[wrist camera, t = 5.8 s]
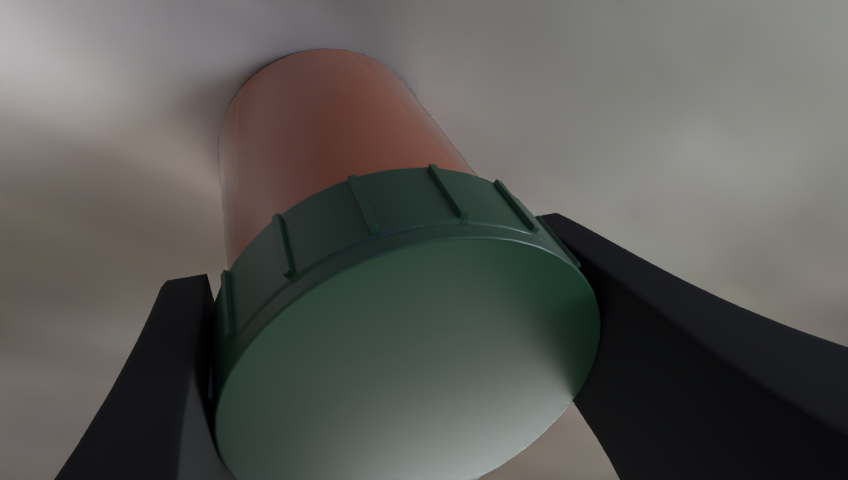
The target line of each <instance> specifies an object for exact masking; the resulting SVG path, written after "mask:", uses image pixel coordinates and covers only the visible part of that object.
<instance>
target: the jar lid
mask: <svg viewBox="0 0 848 480" xmlns="http://www.w3.org/2000/svg"><path fill="white" fill-rule="evenodd" d="M347 178H348V179H347V180H345V181H343V182H340V183H337V184H335V185H333V186H330V187H328V188H326V189H324V190H321V191H319V192H317V193H315V194H313V195H311V196H309V197H308V198H306V199H304V200H302V201H301V202H299V203H297V204H296V205H294V206H292V207H291V208H289V209H288V210H286V211H285V212H283V213H281V214H280V215H279V214H278V213H276V214H275V215H273V216H272V222H271V223H269V224H268V225H267V226H266V227H265V228H264V229H263V230H262V231H261V232H260V233H259V234H258V235H257V236H256V237H255V238H254V239H253V240H252V241H251V242H250V243H249V244H248V245H247V247H246V248H245V249H244V250H243V252H242V253H241V254H240V256H239V257H238V258H237V259H236V261H235V262H234V263H233V265H232V267H231V268H230V269H229V271H226V270H223V272H222V274H221V287H220V290H219V293H218V295H217V298H216V300H215V303H214V308H213V313H212V318H211V351H212V357H211V367H210V378H209V388H208V400H209V402H213V425H214V435H215V440H216V445H217V450H218V452H219V454H220V456H221V458H222V460H223V462H224V465H225V466H226V467H227V469H228V470H229V471H230V473H231V474H232V475H233V477H234V478H235V479H236V480H475V479H478V478H480V477H481V476H483V475H485V474H487V473H488V472H490V471H492V470H494V469H495V468H497V467H499V466H500V465H502V464H503V463H505V462H506V461H508V460H509V459H511V458H512V457H514V456H515V455H517V454H518V453H519V452H521V451H522V450H523V449H525V448H526V447H527V446H529V445H530V444H531V443H532V442H533V441H535V440H536V439H537V438H538V437H539V436H540V435H541V434H543V433H544V432H545V431H546V430H547V429H548V428H549V427H550V426H551V425H552V424H553V423H554V422H555V421H556V420H557V419H558V418H559V417H560V415H561V414H562V413H563V412H564V411H565V409H566V408H567V407H568V406H569V405H570V403H571V402H572V401H573V399H574V398H575V396H576V395H577V393H578V392H579V390H580V389H581V387H582V386H583V384H584V382H585V380H586V378H587V376H588V374H589V372H590V370H591V368H592V365H593V362H594V360H595V357H596V354H597V350H598V345H599V341H600V329H601V320H600V313H599V306H598V303H597V300H596V297H595V294H594V291H593V289H592V288H591V286H590V285H589V283H588V281H587V280H586V278H585V276H584V275H583V274H582V273H581V272H580V271H579V269H578V268H579V267H581V265H580V263H579V262H578V260H577V259H576V258H575V257H574V256H573V255H572V253H571V252H570V251H569V250H568V249H567V247H566V246H565V245H564V244H563V243H562V242H561V240H560V239H559V238H558V237H557V236H556V235H555V233H554V232H553V231H552V230H551V229H550V228H549V226H548V225H547V224H546V223H545V222H544V221H543V219H542V218H541V217H540V216H539V215H538V216H537V217H536V218H535V217H534V216H533V215H532V213H531V212H530V211H529V210H528V209H527V208H526V207H525V206H524V205H523V204H522V203H521V202H520V200H519V199H517V198H516V197H514V196H513V195H512V194H511V193H510V192H509V190H508V189H507V188H506V187H505V186H504V184H503V183H502V182H501V181H499V180H496V181H495V182H494V183H492V182H490V181H488V180H486V179H483V178H480V177H477V176H474V175H471V174H468V173H464V172H459V171H453V170H447V169H442V168H438V167H437V165H436V164H429V166H428V167H422V168H421V167H414V168H401V169H390V170H385V171H380V172H375V173H370V174H365V175H361V176H357V177H356V176H355V174H353V175H350V176H348V177H347Z"/></svg>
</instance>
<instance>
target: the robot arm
mask: <svg viewBox="0 0 848 480" xmlns="http://www.w3.org/2000/svg"><path fill="white" fill-rule="evenodd" d="M536 217H537V216H536ZM536 217H535V218H536ZM540 217H541V218H542V219H543V221H544V222H545V223H546V224H547V225H548V226H549V228H550V229H551V230H552V231H553V232H554V233H555V235H556V236H557V237H558V238H559V239H560V240H561V242H562V243H563V244H564V245H565V246H566V247H567V249H568V250H569V251H570V252H571V253H572V255H573V256H574V257H575V258H576V259H577V260H578V262H579V263H580V265H581V267H579V268H578V269H579V271H580V272H581V273H582V274H583V275H584V276H585V278H586V280H587V281H588V283H589V285H590V286H591V288H592V289H593V291H594V294H595V297H596V300H597V303H598V306H599V313H600V320H601V329H600V341H599V345H598V350H597V354H596V357H595V360H594V362H593V365H592V368H591V370H590V372H589V374H588V376H587V378H586V380H585V382H584V384H583V386H582V387H581V389H580V390H579V392H578V393H577V395H576V396H575V398H574V399H573V402H574V404H575V405H576V407H577V408H578V410H579V411H580V413H581V414H582V416H583V417H584V419H585V420H586V422H587V424H588V425H589V427H590V428H591V430H592V431H593V433H594V434H595V436H596V437H597V439H598V441H599V442H600V444H601V446H602V447H603V449H604V451H605V452H606V454H607V456H608V458H609V459H610V461H611V463H612V465H613V467H614V469H615V471H616V473H617V475H618V477H619V479H620V480H848V347H845V346H842V345H839V344H836V343H834V342H831V341H828V340H825V339H822V338H819V337H816V336H813V335H810V334H807V333H805V332H802V331H799V330H796V329H794V328H791V327H788V326H786V325H783V324H781V323H778V322H776V321H773V320H771V319H769V318H766V317H764V316H761V315H759V314H756V313H754V312H751V311H749V310H746V309H744V308H742V307H739V306H737V305H735V304H733V303H730V302H728V301H726V300H724V299H721V298H719V297H717V296H715V295H713V294H711V293H709V292H707V291H705V290H703V289H701V288H698V287H696V286H694V285H692V284H690V283H688V282H686V281H684V280H682V279H680V278H678V277H676V276H674V275H672V274H670V273H668V272H666V271H664V270H663V269H661V268H659V267H657V266H655V265H653V264H651V263H649V262H648V261H646V260H644V259H642V258H640V257H638V256H636V255H635V254H633V253H631V252H629V251H627V250H626V249H624V248H622V247H620V246H618V245H616V244H615V243H613V242H611V241H609V240H607V239H606V238H604V237H602V236H600V235H598V234H597V233H595V232H593V231H591V230H589V229H587V228H586V227H584V226H582V225H580V224H578V223H576V222H574V221H572V220H570V219H568V218H566V217H564V216H562V215H560V214H558V213H553V214H547V215H542V216H540ZM213 308H214V299H213V295H212V291H211V288H210V284H209V280H208V277H207V274H203V275H197V276H191V277H185V278H180V279H174V280H168V281H166V282H165V283H164V285H163V286H162V287H161V289H160V291H159V294H158V296H157V299H156V301H155V303H154V306H153V308H152V310H151V313H150V315H149V317H148V319H147V321H146V323H145V326H144V328H143V330H142V332H141V334H140V336H139V338H138V340H137V342H136V344H135V346H134V348H133V350H132V352H131V354H130V355H129V357H128V359H127V361H126V363H125V365H124V367H123V369H122V370H121V372H120V374H119V376H118V378H117V380H116V382H115V383H114V385H113V387H112V389H111V391H110V392H109V394H108V396H107V398H106V399H105V401H104V403H103V404H102V406H101V407H100V409H99V411H98V412H97V414H96V416H95V417H94V419H93V420H92V422H91V424H90V425H89V427H88V429H87V430H86V432H85V434H84V435H83V437H82V438H81V440H80V442H79V443H78V445H77V446H76V448H75V450H74V451H73V453H72V454H71V456H70V457H69V459H68V460H67V462H66V463H65V465H64V466H63V468H62V469H61V470H60V472H59V473H58V475H57V476H56V478H55V479H54V480H235V478H234V477H233V475H232V474H231V473H230V471H229V470H228V469H227V467H226V466H225V465H224V462H223V460H222V458H221V456H220V454H219V452H218V450H217V445H216V440H215V435H214V425H213V402H209V400H208V388H209V378H210V367H211V357H212V351H211V318H212V313H213Z"/></svg>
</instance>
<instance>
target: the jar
mask: <svg viewBox="0 0 848 480" xmlns="http://www.w3.org/2000/svg"><path fill="white" fill-rule="evenodd" d="M218 155H219V168H220V181H221V195H222V208H223V221H224V234H225V247H226V260H227V271H229V269H230V268H231V267H232V265H233V263H234V262H235V261H236V259H237V258H238V257H239V256H240V254H241V253H242V252H243V250H244V249H245V248H246V247H247V245H248V244H249V243H250V242H251V241H252V240H253V239H254V238H255V237H256V236H257V235H258V234H259V233H260V232H261V231H262V230H263V229H264V228H265V227H266V226H267V225H268V224H269V223H271V222H272V216H273V215H275V214H276V213H278V214H279V215H280V214H281V213H283V212H285V211H286V210H288V209H289V208H291V207H292V206H294V205H296V204H297V203H299V202H301V201H302V200H304V199H306V198H308V197H309V196H311V195H313V194H315V193H317V192H319V191H321V190H324V189H326V188H328V187H330V186H333V185H335V184H337V183H340V182H343V181H345V180H347V179H348V178H347V177H348V176H350V175H353V174H355V176H356V177H357V176H361V175H365V174H370V173H375V172H380V171H385V170H390V169H401V168H414V167H421V168H422V167H428V166H429V164H436V165H437V167H438V168H442V169H447V170H453V171H459V172H464V173H468V174H471V175H474V176H477V175H476V173H475V172H474V171H473V170H472V168H471V167H470V166H469V164H468V163H467V162H466V161H465V159H464V158H463V157H462V155H461V154H460V153H459V152H458V150H457V149H456V148H455V146H454V145H453V144H452V142H451V141H450V140H449V139H448V137H447V136H446V135H445V133H444V132H443V131H442V130H441V128H440V127H439V126H438V124H437V123H436V122H435V121H434V119H433V118H432V117H431V115H430V114H429V113H428V112H427V110H426V109H425V108H424V106H423V105H422V104H421V103H420V101H419V100H418V99H417V97H416V96H415V95H414V94H413V92H412V91H411V90H410V88H409V87H408V86H407V85H406V83H405V82H404V81H403V80H402V79H401V78H400V77H399V76H398V75H397V74H396V73H394V72H393V71H392V70H391V69H389V68H388V67H387V66H385V65H383V64H382V63H380V62H378V61H377V60H375V59H372V58H370V57H367V56H365V55H363V54H359V53H355V52H351V51H346V50H338V49H316V50H309V51H303V52H300V53H296V54H292V55H289V56H287V57H284V58H282V59H280V60H277V61H275V62H273V63H272V64H270V65H268V66H267V67H265V68H263V69H262V70H260V71H259V72H258V73H257V74H255V75H254V76H253V77H252V78H250V79H249V80H248V81H247V83H246V84H245V85H244V86H243V87H242V88H241V89H240V90H239V91H238V93H237V94H236V96H235V97H234V99H233V100H232V101H231V103H230V105H229V107H228V109H227V111H226V113H225V116H224V119H223V122H222V125H221V129H220V135H219V144H218ZM477 177H478V176H477Z"/></svg>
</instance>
